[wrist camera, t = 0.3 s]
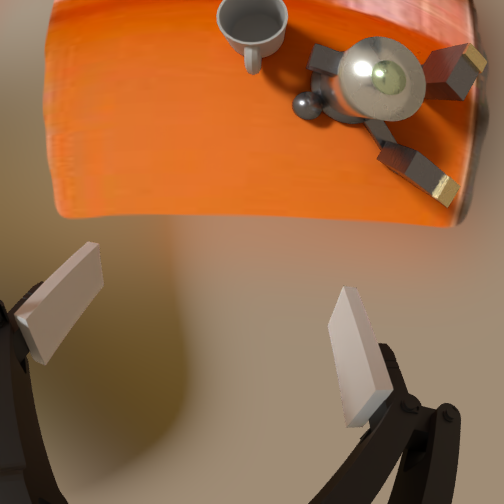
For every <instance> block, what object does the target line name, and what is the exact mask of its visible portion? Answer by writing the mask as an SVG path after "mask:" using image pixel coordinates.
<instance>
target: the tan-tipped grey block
mask: <svg viewBox="0 0 504 504" xmlns="http://www.w3.org/2000/svg"><path fill="white" fill-rule="evenodd" d="M377 160H379V161H380V162H382V163H383V164H385V165H386V166H387V167H388V168H389V169H390V170H392V171H393V172H395V173H397V174H399V175H401V176H402V177H403V178H405V179H406V180H407V181H409V182H410V183H412V184H413V185H414V186H416V187H417V188H419V189H421V190H422V191H424V192H425V193H427V194H428V195H430V196H431V197H433V198H434V199H436V200H437V201H438V202H440V203H441V204H443V205H444V206H446V207H447V208H448V207H449V205H450V203H451V202H452V200H453V198H454V197H455V195H456V193H457V191H458V190H459V188H460V186H459V185H458V184H457V183H456V182H455V181H454V180H453V179H452V178H451V177H449V176H447V175H446V174H445V173H444V172H443V171H441V170H440V169H439V168H438V167H437V166H436V165H434V164H433V163H432V162H431V161H429V160H428V159H427V158H426V157H425V156H423V155H422V154H421V153H420V152H418V151H416V150H414V149H411V148H408V147H405V146H402V145H399V144H397V143H394V142H390V141H386V143H385V145H384V147H383V148H382V150H381V152H380V154H379V155H378V157H377Z"/></svg>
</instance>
